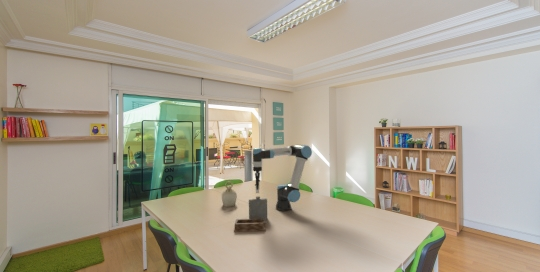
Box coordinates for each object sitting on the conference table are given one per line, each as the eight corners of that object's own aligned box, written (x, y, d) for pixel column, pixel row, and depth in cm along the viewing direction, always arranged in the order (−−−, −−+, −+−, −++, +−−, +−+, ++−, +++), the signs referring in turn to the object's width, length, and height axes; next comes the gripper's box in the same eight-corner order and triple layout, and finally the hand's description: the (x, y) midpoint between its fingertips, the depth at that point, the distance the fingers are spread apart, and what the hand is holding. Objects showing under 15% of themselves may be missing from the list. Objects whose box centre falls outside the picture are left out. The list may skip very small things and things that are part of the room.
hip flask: (267, 218, 203) (266, 195, 203) (267, 219, 199) (267, 196, 199) (248, 219, 200) (248, 196, 200) (249, 221, 196) (248, 197, 196)
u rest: (265, 224, 189) (265, 218, 189) (265, 231, 177) (265, 223, 177) (235, 225, 188) (235, 218, 188) (233, 231, 176) (233, 224, 176)
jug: (233, 207, 233) (233, 182, 232) (219, 207, 236) (218, 182, 235) (238, 203, 248) (238, 179, 247) (225, 202, 251) (224, 179, 250)
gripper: (253, 164, 211) (253, 187, 211) (252, 168, 186) (252, 195, 186) (261, 164, 211) (262, 187, 212) (261, 168, 186) (261, 194, 187)
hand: (257, 191), depth 199 cm, fingers open, 13 cm apart
